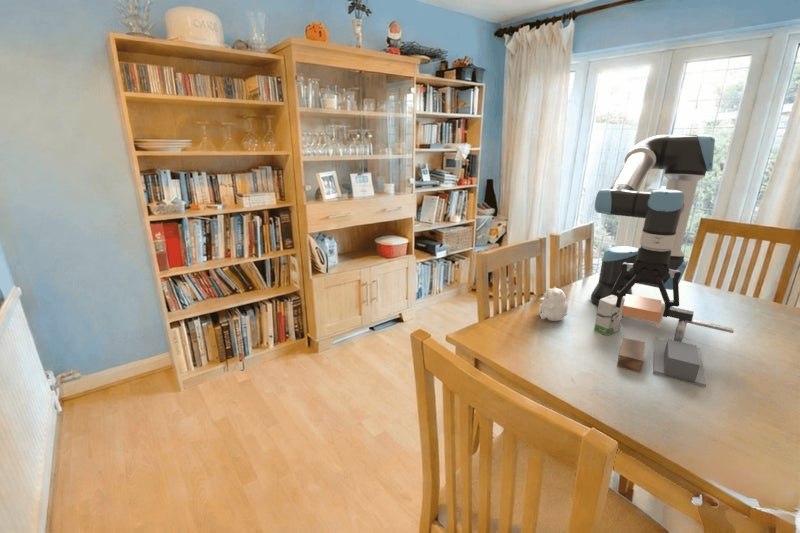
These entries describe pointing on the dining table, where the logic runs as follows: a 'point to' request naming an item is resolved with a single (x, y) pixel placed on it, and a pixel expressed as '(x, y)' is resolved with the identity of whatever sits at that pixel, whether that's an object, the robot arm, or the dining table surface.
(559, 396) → the dining table surface
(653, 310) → the cover
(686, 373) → the block
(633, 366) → the brown wooden block
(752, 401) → the dining table surface
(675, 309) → the grey t-shaped piece
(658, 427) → the dining table surface
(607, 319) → the ink box
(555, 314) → the figurine
